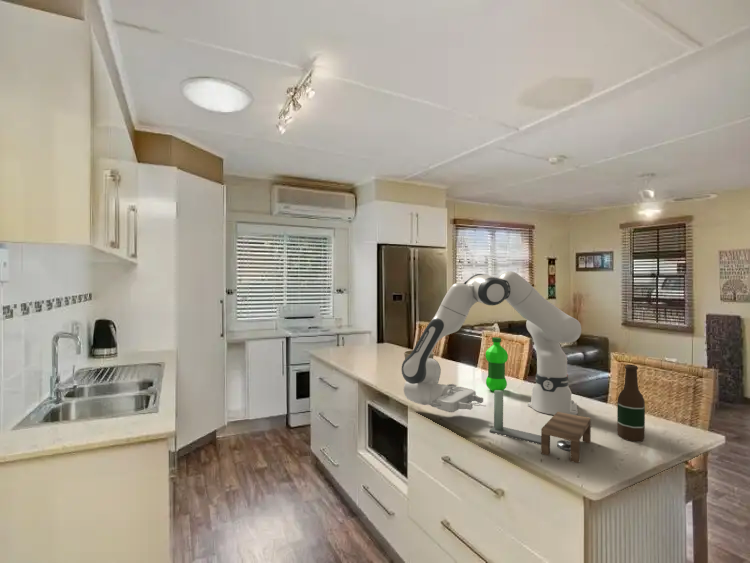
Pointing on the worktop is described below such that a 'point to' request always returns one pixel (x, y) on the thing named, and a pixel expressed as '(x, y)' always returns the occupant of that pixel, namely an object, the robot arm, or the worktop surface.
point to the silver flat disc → (564, 445)
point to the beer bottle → (631, 408)
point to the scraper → (509, 432)
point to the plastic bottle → (496, 366)
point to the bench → (566, 432)
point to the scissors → (477, 403)
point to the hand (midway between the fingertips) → (477, 403)
